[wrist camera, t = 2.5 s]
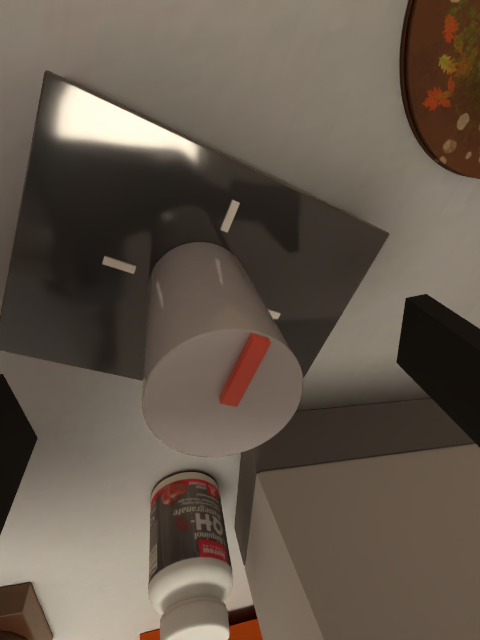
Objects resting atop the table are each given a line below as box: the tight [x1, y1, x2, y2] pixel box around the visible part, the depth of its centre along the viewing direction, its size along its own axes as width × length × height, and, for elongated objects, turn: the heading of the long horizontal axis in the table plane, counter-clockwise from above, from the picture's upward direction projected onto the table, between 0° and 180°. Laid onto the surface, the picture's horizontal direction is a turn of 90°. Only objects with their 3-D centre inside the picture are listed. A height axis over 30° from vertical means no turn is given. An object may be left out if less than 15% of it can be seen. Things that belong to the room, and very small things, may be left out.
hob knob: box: [142, 242, 303, 457], centre depth 14 cm, size 5×5×8 cm
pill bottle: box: [148, 472, 233, 640], centre depth 25 cm, size 5×5×10 cm
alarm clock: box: [235, 398, 480, 640], centre depth 22 cm, size 20×16×20 cm
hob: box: [0, 71, 389, 381], centre depth 19 cm, size 16×12×3 cm
